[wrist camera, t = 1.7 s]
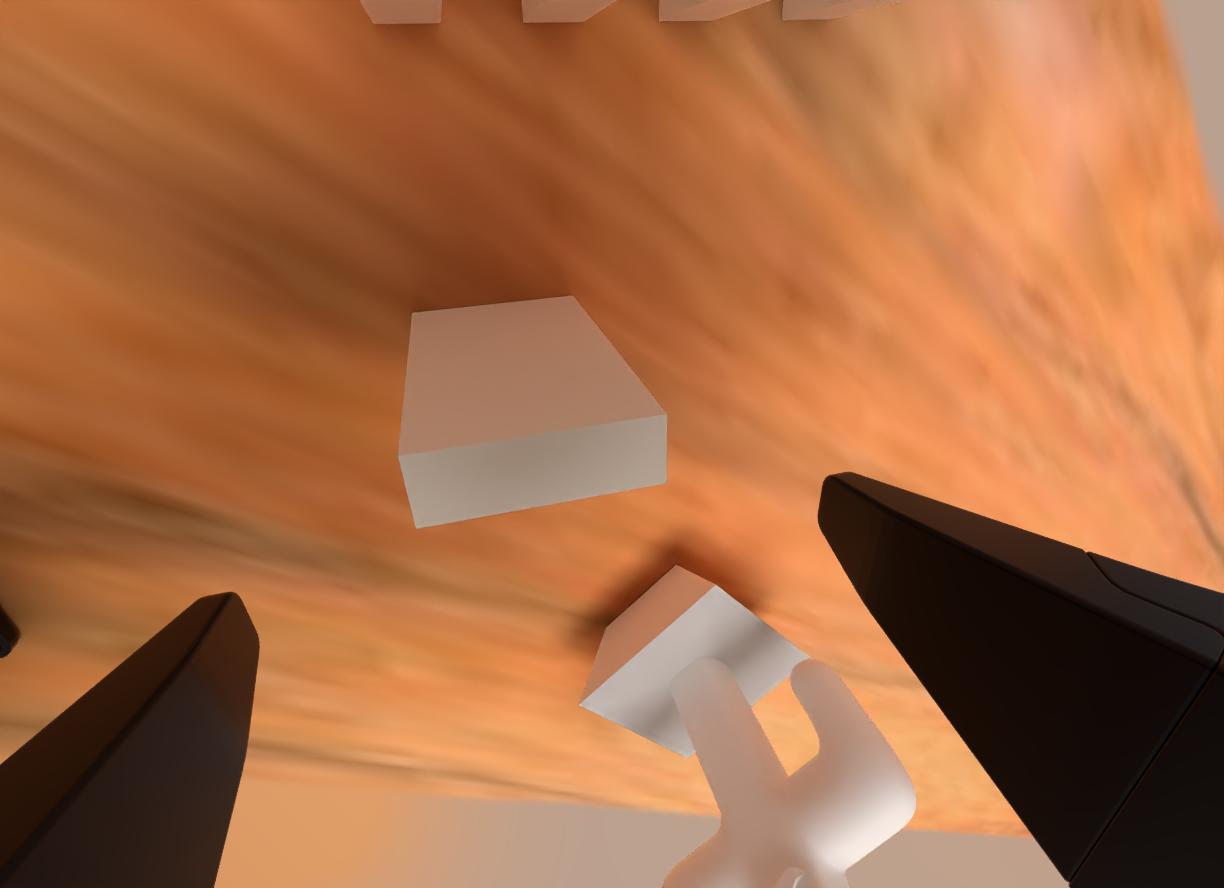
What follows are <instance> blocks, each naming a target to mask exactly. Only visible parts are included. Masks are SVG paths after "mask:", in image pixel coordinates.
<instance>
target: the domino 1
mask: <svg viewBox="0 0 1224 888" xmlns="http://www.w3.org/2000/svg"><path fill="white" fill-rule="evenodd" d="M359 1H360V3H361V4H362V6H363V8H364V9H365V11H366V12H367V14H368V16H369V17H370V19H371V21H372V22H373V24H435V23H440V21H441V10H442V0H359Z"/></svg>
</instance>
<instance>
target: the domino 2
mask: <svg viewBox="0 0 1224 888" xmlns="http://www.w3.org/2000/svg"><path fill="white" fill-rule="evenodd" d="M398 459H399V463H400V467H401V471H402V475H403V479H404V483H405V487H406V491H407V495H408V499H409V503H410V507H411V511H412V515H413V519H414V523H415V527H416V529H419V528H424V527H430V526H435V525H441V524H446V523H452V522H457V521H463V520H468V519H474V518H479V517H485V516H490V515H496V514H501V513H507V512H512V511H518V510H523V509H529V508H534V507H540V506H545V505H551V504H556V503H562V502H567V501H573V500H578V499H583V498H589V497H594V496H600V495H605V494H611V493H616V492H622V491H627V490H633V489H638V488H644V487H649V486H655V485H660V484H666V483H667V413H666V412H665V411H664V409H663V408H662V407H661V406H660V404H659V403H658V402H657V401H656V399H655V398H654V397H653V395H652V394H651V393H650V392H649V390H648V389H647V388H646V387H645V385H644V384H643V383H642V382H641V380H640V379H639V378H638V377H637V375H636V374H635V373H634V372H633V370H632V369H631V368H630V367H629V365H628V364H627V363H626V362H625V360H624V359H623V358H622V357H621V355H620V354H619V353H618V351H617V350H616V349H615V348H614V346H613V345H612V344H611V343H610V341H609V340H608V339H607V338H606V336H605V335H604V334H603V333H602V331H601V330H600V329H599V328H598V326H597V325H596V324H595V323H594V321H593V320H592V319H591V318H590V316H589V315H588V314H587V312H586V311H585V310H584V309H583V307H582V306H581V305H580V304H579V302H578V301H577V300H576V299H575V297H574V296H573V295H571V296H562V297H553V298H544V299H534V300H525V301H516V302H507V303H497V304H488V305H479V306H470V307H460V308H451V309H442V310H433V311H423V312H414V313H412V320H411V330H410V340H409V350H408V360H407V370H406V380H405V390H404V400H403V410H402V420H401V429H400V439H399V449H398Z"/></svg>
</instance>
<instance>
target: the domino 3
mask: <svg viewBox="0 0 1224 888" xmlns="http://www.w3.org/2000/svg"><path fill="white" fill-rule="evenodd" d="M768 1H771V0H659V21H714V20H717V19H720V18H723V17H725V16H728V15H731V14H734V13H737V12H740V11H742V10H745V9H748V8H751V7H754V6H757V5H759V4H762V3H765V2H768Z"/></svg>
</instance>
